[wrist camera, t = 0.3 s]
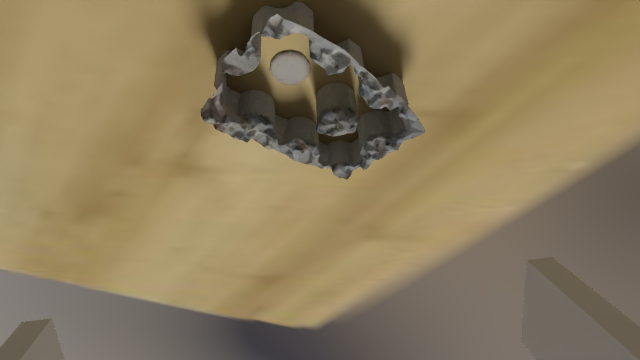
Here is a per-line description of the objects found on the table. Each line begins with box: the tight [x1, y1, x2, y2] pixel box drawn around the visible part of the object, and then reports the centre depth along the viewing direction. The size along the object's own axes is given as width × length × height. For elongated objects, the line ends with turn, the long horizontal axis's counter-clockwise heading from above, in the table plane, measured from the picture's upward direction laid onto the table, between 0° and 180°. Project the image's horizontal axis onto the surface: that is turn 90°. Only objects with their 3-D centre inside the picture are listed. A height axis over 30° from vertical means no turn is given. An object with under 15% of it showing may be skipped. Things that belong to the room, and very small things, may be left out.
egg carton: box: [201, 1, 425, 179], centre depth 25 cm, size 11×8×4 cm
